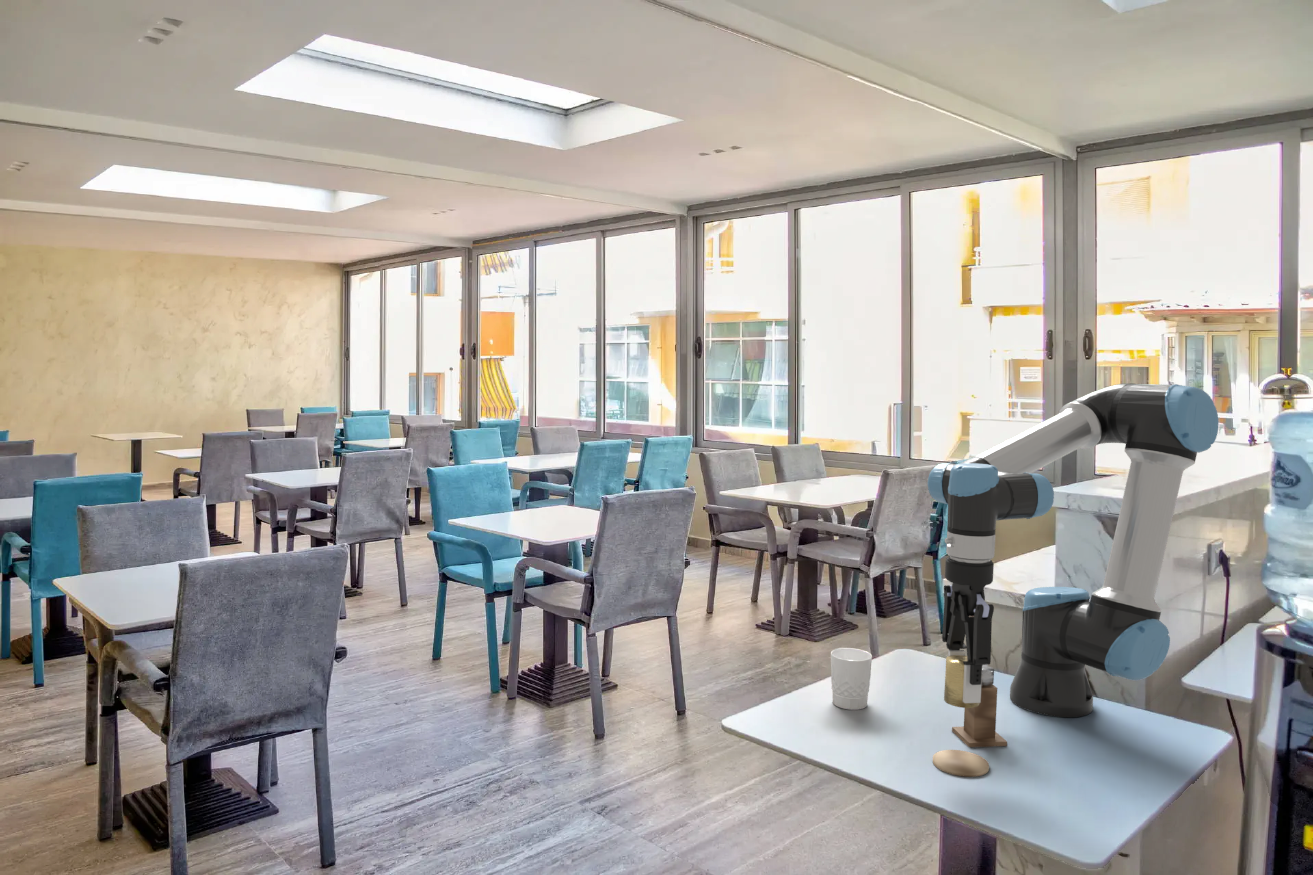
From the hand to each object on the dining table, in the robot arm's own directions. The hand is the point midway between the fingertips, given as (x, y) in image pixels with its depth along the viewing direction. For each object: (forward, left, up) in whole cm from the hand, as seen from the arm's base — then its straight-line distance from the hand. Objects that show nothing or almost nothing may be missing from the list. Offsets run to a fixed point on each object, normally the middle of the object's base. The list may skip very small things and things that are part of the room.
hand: (963, 694), depth 154 cm
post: (-8, -10, -12) cm, 18 cm away
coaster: (0, 0, -12) cm, 12 cm away
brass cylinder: (0, 0, -1) cm, 1 cm away
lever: (-10, -15, -2) cm, 19 cm away
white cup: (+10, -28, -12) cm, 32 cm away
